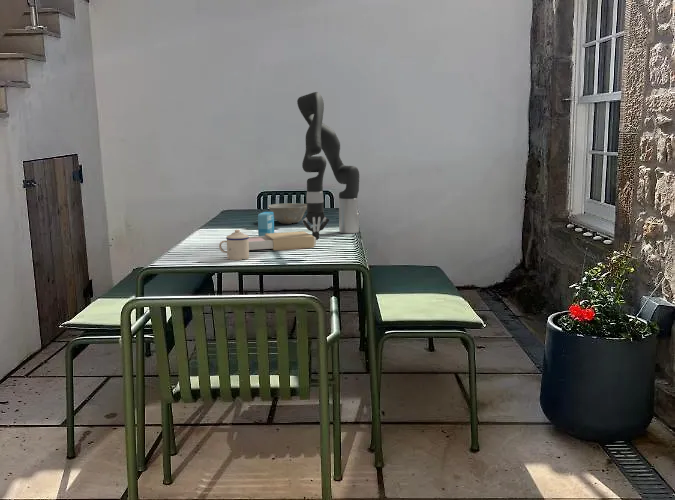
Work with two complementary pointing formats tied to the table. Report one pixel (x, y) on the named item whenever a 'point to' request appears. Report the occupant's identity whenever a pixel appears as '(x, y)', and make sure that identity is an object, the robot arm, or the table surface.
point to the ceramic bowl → (288, 212)
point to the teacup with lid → (236, 246)
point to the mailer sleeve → (291, 240)
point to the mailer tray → (263, 242)
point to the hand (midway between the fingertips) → (315, 239)
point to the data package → (265, 223)
